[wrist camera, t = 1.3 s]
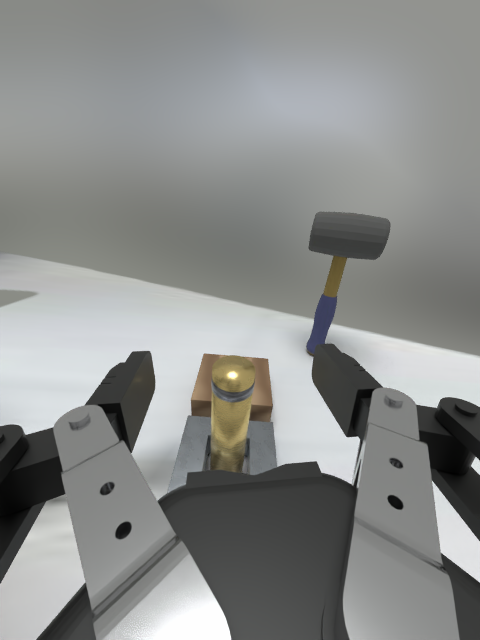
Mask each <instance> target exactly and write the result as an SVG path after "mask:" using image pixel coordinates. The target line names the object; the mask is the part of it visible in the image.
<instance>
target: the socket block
mask: <svg viewBox="0 0 480 640" xmlns="http://www.w3.org/2000/svg"><path fill="white" fill-rule="evenodd" d="M208 453H211V417H200V416H188V418H187V422H186V425H185V429H184V433H183V436H182V440H181V444H180V447H179V451H178V455H177V458H176V462H175V466H174V469H173V473H172V477H171V480H170V484H169V488H168V491H167V493H169V492H170V491H172V490H174V489H176V488H178V487H180V486H183V485H186V479H187V472H198V471H205V468H206V462H207V456H208ZM244 456H247V474H249V475H257V474H260V473H263V472H265V471H268V470H271V469H274V468H276V467H277V461H276V451H275V440H274V429H273V422H261V421H249V424H248V431H247V439H246V446H245V453H244Z"/></svg>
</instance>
